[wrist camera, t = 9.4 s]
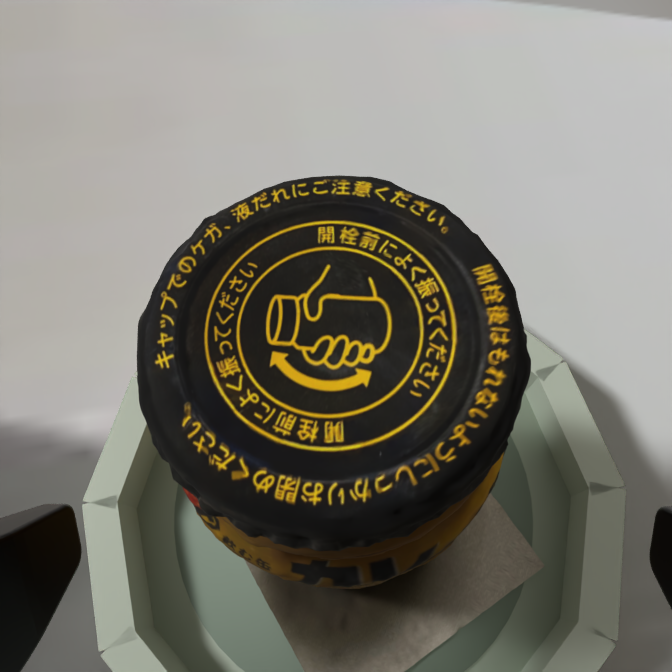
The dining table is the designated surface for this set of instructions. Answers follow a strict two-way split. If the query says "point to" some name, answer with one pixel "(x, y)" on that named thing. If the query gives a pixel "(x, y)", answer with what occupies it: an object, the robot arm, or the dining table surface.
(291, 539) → the condiment
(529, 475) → the round tray
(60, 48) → the dining table surface
